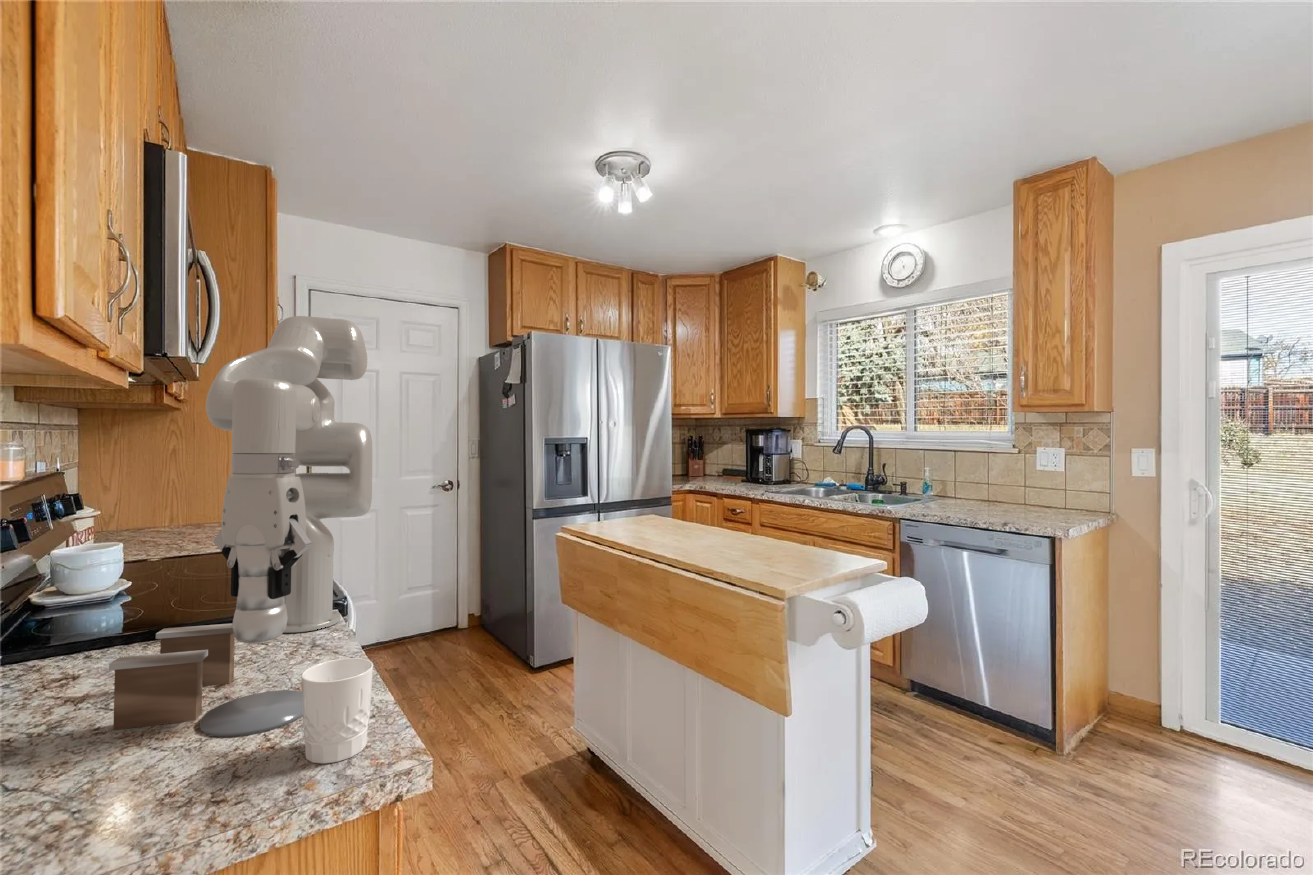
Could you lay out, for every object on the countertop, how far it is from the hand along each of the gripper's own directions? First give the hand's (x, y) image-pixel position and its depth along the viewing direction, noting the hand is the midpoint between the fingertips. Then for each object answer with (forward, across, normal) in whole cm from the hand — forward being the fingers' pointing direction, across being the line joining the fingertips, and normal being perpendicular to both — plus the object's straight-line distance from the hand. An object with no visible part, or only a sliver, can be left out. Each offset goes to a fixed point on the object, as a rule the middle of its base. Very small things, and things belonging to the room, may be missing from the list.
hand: (261, 594), depth 82 cm
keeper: (+17, +14, -1) cm, 22 cm away
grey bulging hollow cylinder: (+7, 0, 0) cm, 7 cm away
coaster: (+17, 0, 0) cm, 17 cm away
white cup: (+17, -17, +6) cm, 25 cm away
